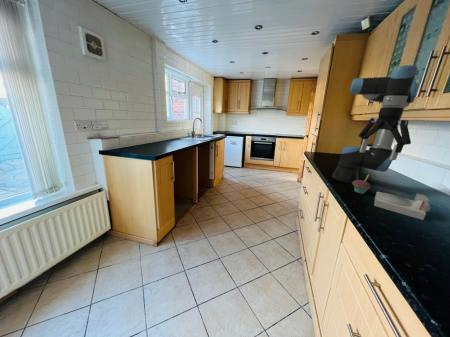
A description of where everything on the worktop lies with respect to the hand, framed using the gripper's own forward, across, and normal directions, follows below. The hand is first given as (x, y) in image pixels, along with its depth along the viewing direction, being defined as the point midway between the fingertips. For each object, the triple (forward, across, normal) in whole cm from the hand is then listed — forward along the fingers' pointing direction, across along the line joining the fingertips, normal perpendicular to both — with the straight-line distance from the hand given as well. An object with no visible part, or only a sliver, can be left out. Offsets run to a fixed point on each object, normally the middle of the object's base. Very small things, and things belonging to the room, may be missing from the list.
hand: (376, 155), depth 84 cm
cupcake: (+25, -12, +13) cm, 31 cm away
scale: (+25, +6, +16) cm, 30 cm away
